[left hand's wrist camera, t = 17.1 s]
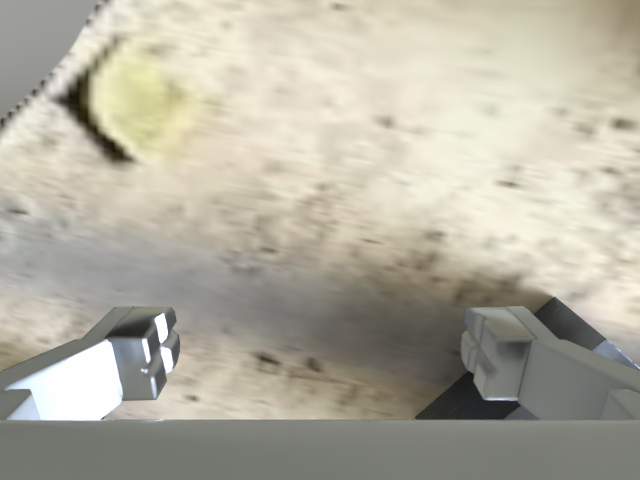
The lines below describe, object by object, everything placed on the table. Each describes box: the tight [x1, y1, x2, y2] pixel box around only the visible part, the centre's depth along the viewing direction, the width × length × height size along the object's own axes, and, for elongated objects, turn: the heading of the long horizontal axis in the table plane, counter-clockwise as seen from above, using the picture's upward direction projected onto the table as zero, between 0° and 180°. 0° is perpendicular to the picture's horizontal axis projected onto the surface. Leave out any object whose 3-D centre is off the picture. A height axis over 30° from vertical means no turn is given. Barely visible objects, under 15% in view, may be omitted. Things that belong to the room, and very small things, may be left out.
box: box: [415, 297, 640, 420], centre depth 44 cm, size 24×6×8 cm, turn 141°
